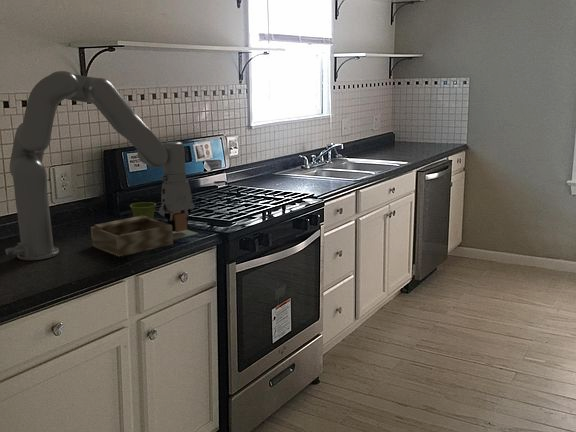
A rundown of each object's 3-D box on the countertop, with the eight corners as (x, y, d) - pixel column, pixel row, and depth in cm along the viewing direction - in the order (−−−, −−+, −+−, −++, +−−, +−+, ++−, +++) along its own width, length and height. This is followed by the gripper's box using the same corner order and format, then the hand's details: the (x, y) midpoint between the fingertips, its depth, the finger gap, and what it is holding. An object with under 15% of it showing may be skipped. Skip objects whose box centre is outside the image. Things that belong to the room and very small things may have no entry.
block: (176, 232, 226) (175, 215, 224) (169, 229, 229) (168, 213, 227) (187, 229, 229) (186, 213, 227) (180, 227, 232) (179, 211, 230)
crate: (119, 256, 204) (117, 234, 203) (92, 246, 217) (90, 224, 216) (173, 244, 217) (171, 222, 216) (145, 234, 230) (143, 214, 229)
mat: (174, 240, 222) (174, 238, 222) (158, 234, 230) (158, 233, 229) (198, 234, 229) (198, 233, 229) (182, 229, 236) (182, 228, 236)
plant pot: (146, 223, 247) (144, 200, 245) (162, 226, 241) (161, 203, 239) (126, 228, 240) (124, 205, 238) (142, 232, 234) (140, 208, 232)
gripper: (159, 182, 216) (163, 235, 220) (201, 175, 227) (204, 226, 232) (147, 180, 222) (151, 232, 226) (189, 173, 233) (192, 223, 237)
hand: (178, 228), depth 229 cm, fingers closed on block, 4 cm apart
